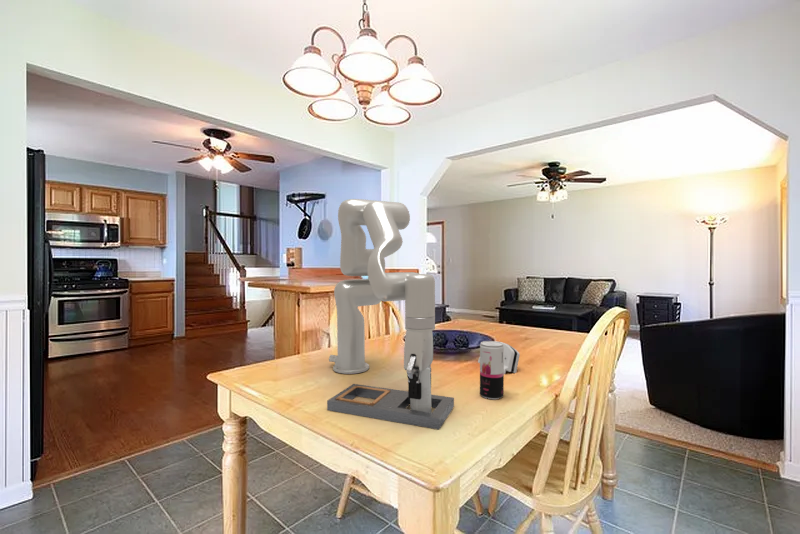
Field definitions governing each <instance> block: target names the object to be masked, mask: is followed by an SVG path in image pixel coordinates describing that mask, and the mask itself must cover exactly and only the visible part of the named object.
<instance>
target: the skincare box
mask: <svg viewBox="0 0 800 534" xmlns="http://www.w3.org/2000/svg"><path fill="white" fill-rule="evenodd" d="M414 369H417V370H418V369H419V368H415V367H414ZM430 370H431V371H432V368H431V369H430V368H429V367H427V368H426V369H425V370H423V371H422V372H421V378H420V383H421V399H420V400H419V399H412V398H410V405H409V407H410V410H416V411H423V412H429V413H432V412H433V411H432V409H433V408H431V395H432V374H431V375H430ZM414 374H416V376H417V374H418V373H416V372H414Z"/></svg>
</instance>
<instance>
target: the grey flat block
mask: <svg viewBox="0 0 800 534" xmlns="http://www.w3.org/2000/svg"><path fill="white" fill-rule="evenodd" d="M358 397H360V398H364V399H365V398H367V399H373V401H372V402H369V401H362V400H357V399H356V398H358ZM409 404H410V398H409V397H408V391H407V390H400V389H396V388H395V389H394V388H386V387H379V386H371V385H364V384H358V383H352V384H350V385H349V386H348V387H346V388H344V389H343V390H342V391H340V392H339V393H337V394H335V395H334V396H332V397H331V398H329V399H328V400H327V401H326V410H327V411H330V412H335V413H342V414H345V415H346V414H348V415H352V416H353V415H354V416H358V417H364V418H370V419H374V420H375V419H377V420H383V421H387V422H392V423H393V422H394V423H399V424H406V425H412V426H417V427H422V428H423V427H424V428H427V429H434V430H440V429H441V427H442V426H443V424H445V422H446V419H448V417H449V415H450V414H451V413H452V410H453V409H454V408H453V407H455V398H454V397H452V396H445V395H437V394H431V407H432V409H434V410H433V411H432V413H429V412H423V411H416V410H411V408H410V409H409V408H408V407H410V405H409Z"/></svg>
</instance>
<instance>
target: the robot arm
mask: <svg viewBox="0 0 800 534" xmlns="http://www.w3.org/2000/svg"><path fill="white" fill-rule="evenodd" d="M337 219H338V225H339V230H340V234H341V237H340V238H341V239H340V256H339V258H340V259H339V268H340V272H341V273H342V274H343V275H344V276H347V277H366V276H367V278H363V279H360V278H357V279H355V278H354V279H344V280H340V281H339V282H337V283H336V285H335V286H334V289H333V291H334V292H333V295H334V300H335V306H336V316H337V317H336V318H337V319H336V324H337V325H336V327H337V328H336V329H337V332H336V333H337V335H336V336H337V338H336V339H337V355H335V354H334V355H333V354H330V355H329V358H328V362H333V363H334V365H333V366H332V370H333V371H334V372H335V373H338V374H343V375H344V374H345V375H351V374H352V375H353V374H359V373H360V374H361V373H363V372H364V373H365V372H366V371H368V370H369V369H370V364H369V363H368V362H366V361H365V360H366V357H365V354H366V352H365V351H366V350H365V349H366V348H365V347H366V345H365V341H366V340H365V337H366V336H365V331H366V329H365V318H364V315H363V314H362V312H361V311H360V310H359V307H367V306H375V305H376V306H377V305H378V304H380V303H381V302H398V301H399V302H400V301H404V306H405V307H404V315H405V316H404V318H405V319H404V321H405V322H404V329H405V330H406V331H405V337H404V338H405V339H404V347H403V348H404V351H403V370H405V371H406V375H407V376H406V377H407V383H408V384H407V385H408V386H407V388H408V389H407V390H408V397H409V398H412V399H419V400H420V399H421V383H420V378H421V372H422V371H423V370H425V369H426V368H427V367H429V368H430V369H431V370H430V375H431V376H432V363H433V360H434V339H433V331H435V329H436V287H435V286H436V280H435V277H434V276H433V275H432V274H428V273H418V272H413V271H411V272H409V271H408V272H407V271H404V272H403V271H401V272H400V271H397V272H386V261H385V258H387V257H389V256H391V255H393V254H395V253H396V252H398V251H399V250H400V249H401V247H402V245H403V243H404V242H403V238H402V235H401V233H400V231H399V230H404V229H406V228H407V227H408V226H409V224H410V221H411V214H410V211H409V209H408V207H407V206H406V205H405V204H404V203H403V202H400V201H399V202H398V201H388V200H387V201H384V200H375V199H373V200H372V199H365V198H364V199H363V198H350V199H345V200H343V201H341V202H340V205H339V207H338V211H337ZM362 226H365V227H366V228H367V232H368V234H369V237H370V241H371V244H372V246H373V248H367V236H366V233H365V231H364V229H363V228H362ZM414 367H415V368H419V369H418V370H417V369H414ZM414 372H416V373H418V374H417V376H416V374H414Z"/></svg>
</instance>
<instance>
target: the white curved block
mask: <svg viewBox="0 0 800 534" xmlns="http://www.w3.org/2000/svg"><path fill="white" fill-rule="evenodd" d="M496 342H498V341H496ZM500 342H501V343H503V346H504V375H506V372H511V373H514V374H517V371H518V366H519V362H520V361H519V360H520V352H519V351H518V350H517V349H516V348H515V347H513V346H512V345H510V344H508V343H506V342H502V341H500ZM477 363H478V364H480V356H479V357H478V360H477Z"/></svg>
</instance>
